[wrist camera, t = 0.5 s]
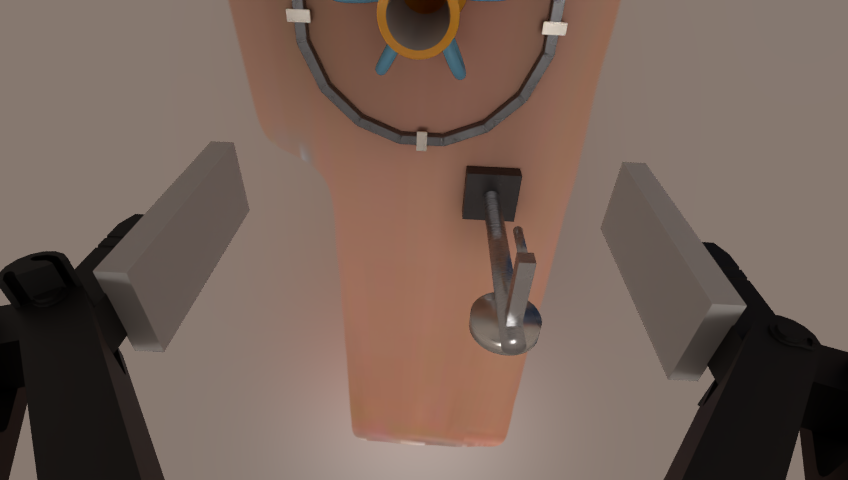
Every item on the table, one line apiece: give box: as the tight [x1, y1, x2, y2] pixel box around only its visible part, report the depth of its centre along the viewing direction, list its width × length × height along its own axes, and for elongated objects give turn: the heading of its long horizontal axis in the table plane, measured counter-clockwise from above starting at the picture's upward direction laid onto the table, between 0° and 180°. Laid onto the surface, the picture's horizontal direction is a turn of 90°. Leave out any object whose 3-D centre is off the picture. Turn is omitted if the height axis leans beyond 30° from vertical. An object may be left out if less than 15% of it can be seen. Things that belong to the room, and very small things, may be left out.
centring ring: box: [286, 0, 568, 151], centre depth 36 cm, size 21×21×1 cm
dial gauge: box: [462, 166, 542, 355], centre depth 36 cm, size 8×5×20 cm, turn 178°
